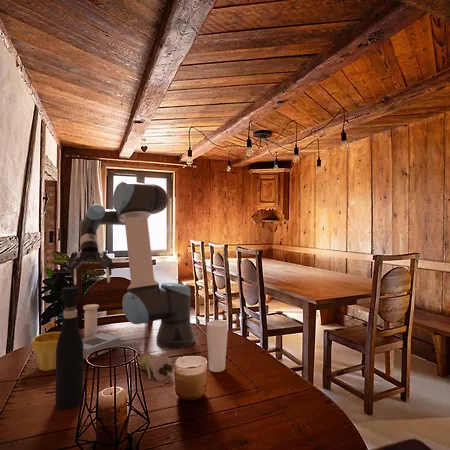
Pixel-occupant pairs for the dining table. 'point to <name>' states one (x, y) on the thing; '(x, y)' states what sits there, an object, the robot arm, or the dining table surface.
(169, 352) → the dining table surface
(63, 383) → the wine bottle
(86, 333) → the cylinder
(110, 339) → the jig
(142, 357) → the figurine
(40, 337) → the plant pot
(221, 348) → the drinking glass
